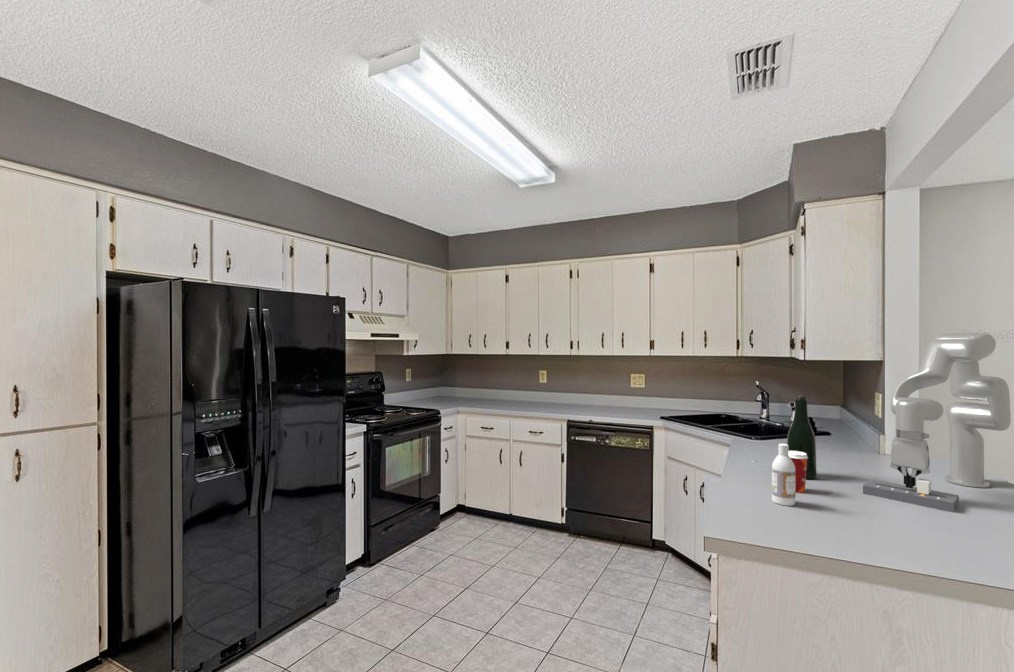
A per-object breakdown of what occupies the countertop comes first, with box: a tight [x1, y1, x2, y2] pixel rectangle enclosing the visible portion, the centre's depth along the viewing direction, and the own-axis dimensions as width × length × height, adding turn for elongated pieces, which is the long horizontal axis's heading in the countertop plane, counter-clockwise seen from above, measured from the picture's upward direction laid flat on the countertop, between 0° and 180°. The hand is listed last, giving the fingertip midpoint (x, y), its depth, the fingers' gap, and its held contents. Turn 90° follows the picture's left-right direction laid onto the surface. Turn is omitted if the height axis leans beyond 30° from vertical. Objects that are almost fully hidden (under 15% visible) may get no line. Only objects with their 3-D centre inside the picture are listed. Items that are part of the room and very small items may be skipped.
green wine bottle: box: [786, 395, 818, 480], centre depth 190 cm, size 10×10×33 cm
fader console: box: [862, 478, 960, 513], centre depth 163 cm, size 12×24×3 cm, turn 40°
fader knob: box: [916, 477, 932, 495], centre depth 160 cm, size 5×3×4 cm, turn 130°
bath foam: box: [771, 443, 796, 507], centre depth 159 cm, size 7×7×20 cm
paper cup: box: [788, 451, 808, 494], centre depth 172 cm, size 8×8×14 cm
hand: (909, 487), depth 163 cm, fingers closed
